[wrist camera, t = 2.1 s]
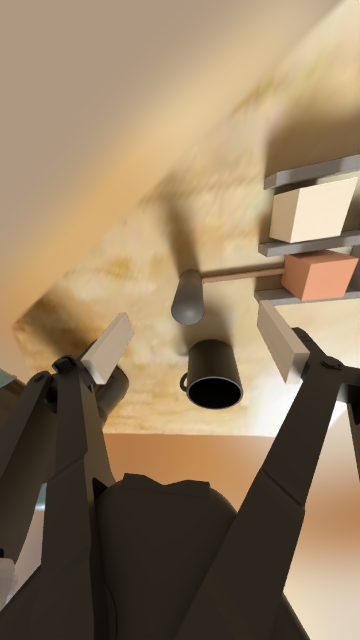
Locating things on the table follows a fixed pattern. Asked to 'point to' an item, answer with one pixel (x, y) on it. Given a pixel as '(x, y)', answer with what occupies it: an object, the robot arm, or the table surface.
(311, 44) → the table surface
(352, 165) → the lane shelf
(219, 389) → the mug
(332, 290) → the block
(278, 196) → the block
